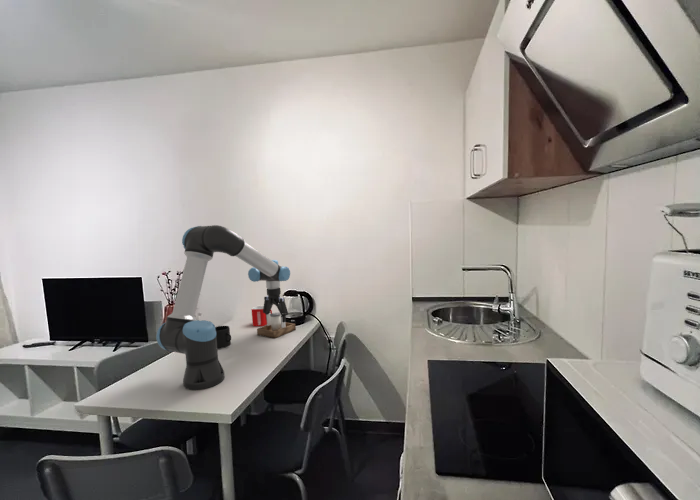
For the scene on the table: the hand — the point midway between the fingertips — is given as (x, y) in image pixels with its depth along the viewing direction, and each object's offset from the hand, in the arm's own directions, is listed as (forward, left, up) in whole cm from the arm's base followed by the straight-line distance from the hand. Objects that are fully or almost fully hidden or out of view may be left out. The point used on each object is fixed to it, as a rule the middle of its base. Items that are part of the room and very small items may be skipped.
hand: (276, 326), depth 197 cm
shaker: (0, 0, -3) cm, 3 cm away
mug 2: (+8, +20, -4) cm, 22 cm away
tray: (0, 0, -3) cm, 3 cm away
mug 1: (-28, +10, -4) cm, 30 cm away
